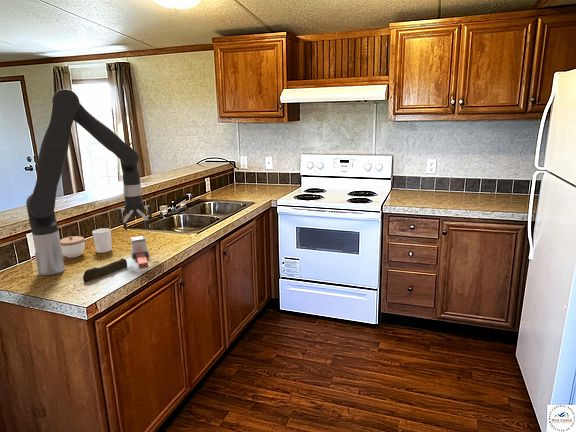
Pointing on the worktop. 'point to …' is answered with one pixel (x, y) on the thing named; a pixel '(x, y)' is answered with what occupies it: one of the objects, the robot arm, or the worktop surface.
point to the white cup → (102, 240)
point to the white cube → (138, 244)
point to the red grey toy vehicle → (141, 258)
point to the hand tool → (103, 270)
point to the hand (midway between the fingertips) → (136, 229)
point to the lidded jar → (72, 246)
